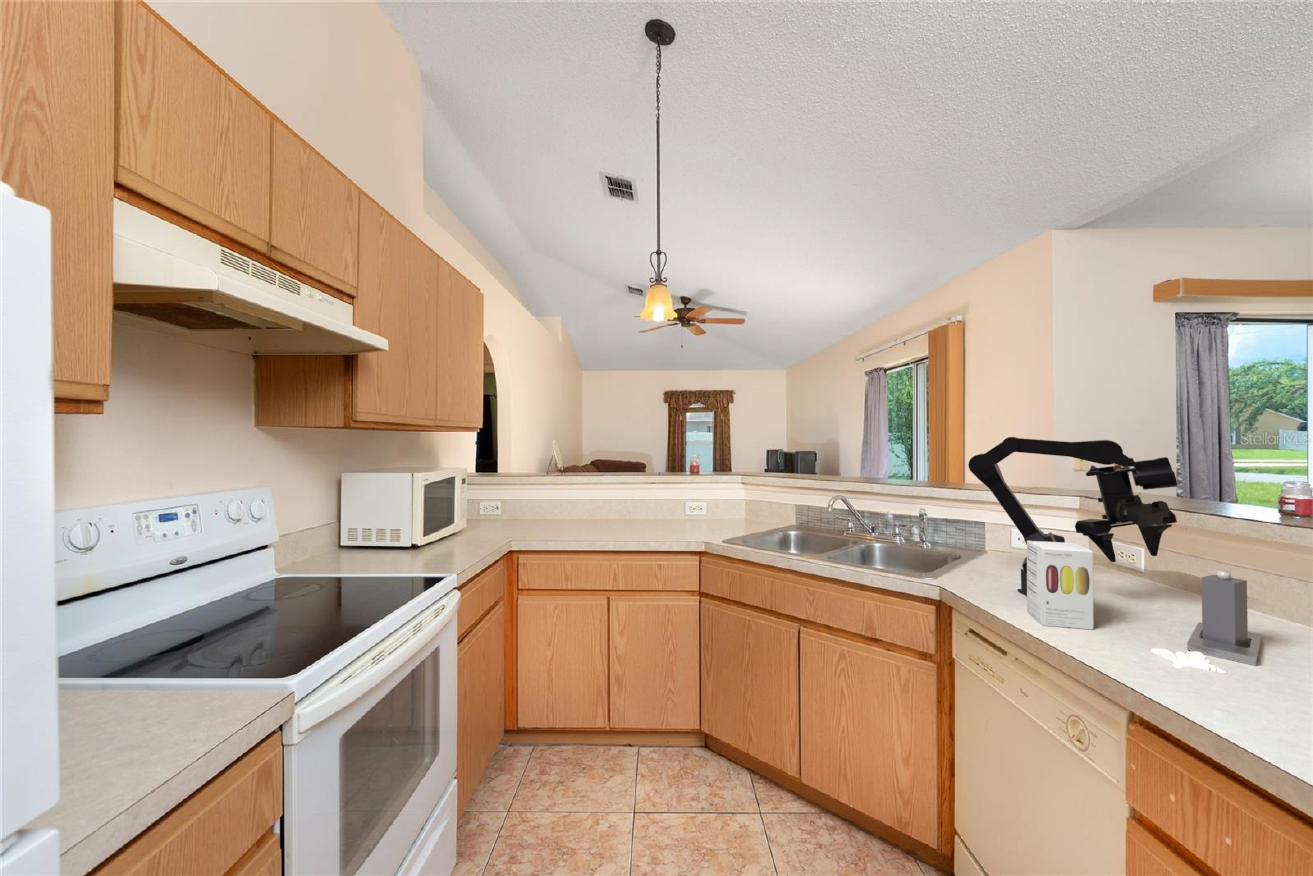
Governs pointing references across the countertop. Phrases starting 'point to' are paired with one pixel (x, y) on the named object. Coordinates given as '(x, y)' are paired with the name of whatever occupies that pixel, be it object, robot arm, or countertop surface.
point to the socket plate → (1225, 647)
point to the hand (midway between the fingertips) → (1133, 558)
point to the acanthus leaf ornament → (1188, 660)
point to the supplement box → (1060, 584)
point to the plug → (1224, 609)
